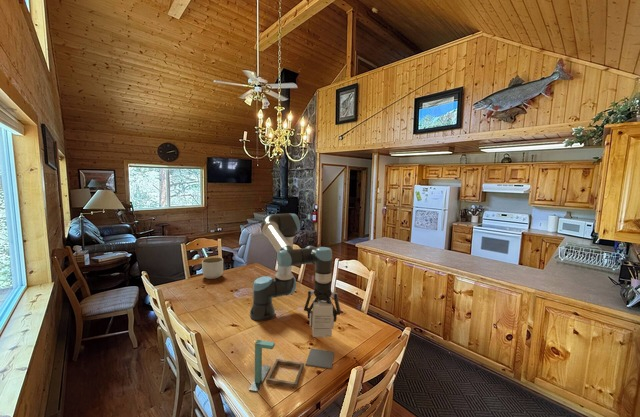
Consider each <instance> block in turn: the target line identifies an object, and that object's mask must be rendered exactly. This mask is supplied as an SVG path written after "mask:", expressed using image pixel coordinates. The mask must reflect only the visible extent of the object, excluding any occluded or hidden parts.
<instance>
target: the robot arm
mask: <svg viewBox="0 0 640 417" xmlns="http://www.w3.org/2000/svg"><path fill="white" fill-rule="evenodd" d="M260 224H261V225H260V231H261V233H262V235H264V237H266V238H267V240H268V241H269V242H270V243H271V245H272V247H273V248H274V250H275V252H276V253H277V254H276V262H277V272H276V273H275V275H274V278H272V277H271V276H265V275H264V276H260V277H258V278H257V279H255V280H254V281H253V286H252V302H253V303H252V305H251V309H250V310H249V311H250V313H249V316H250V318H251V319H252V320H254V321H258V322H264V321H269V320H271V319H272V318H274V316H275V315H276V314H275V311H276V310H275V307H274V303H273V298H279V297H285V296H289V295H292V294H294V293H295V291H296V288H297V282H296V281H297V279H296V277H295V276H294V274H293V273H292V268H293V266H300V265H307V264H313V265H314V266H315V274H314V280H315V281H314V290H312V289H308V292H307V298H306V301H305V304H304V308H303V311H304V312H307V319H308V320H309V324H308V326H309V327H312V315H313V303H314V302H317V301H318V300H319V301H326V302H327V303H328V304H331V301H332V298H333V301H334V304H335V306H334V304H333V317H332V330H334V328H335V322H337V317H338V316H340V315H341V312H342V311H341V307H340V306H341V305H340V302H339V299H338V294H339V293H338V292H336V291H335V292H332V272H333V271H332V269H333V268H332V267H333V266H332V265H333V250H332V248H331V247H327V246H326V247H325V246H320V247H316V246H313V245H308V246H306V247H305V248H303V247H302V248H294V239H295V237H297V233H298V232H300V230H301V222H300V219H299V217H298V214H296V213H290V212H289V213H287V212H286V213H272V214H268V215H267V216H265V217H264V218H263V220H262V221H261V223H260ZM313 295H314V296H315V297H314V298H315V300H314V302H313V301H312V303H311V304H310V302H311V298H312V296H313ZM331 296H332V298H331ZM330 298H331V299H330ZM309 304H310V306H309Z"/></svg>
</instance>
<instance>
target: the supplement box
mask: <svg viewBox="0 0 640 417" xmlns="http://www.w3.org/2000/svg"><path fill="white" fill-rule="evenodd" d="M315 298H316V297H314V298H313V299H312V303H313V302H314V300H315ZM330 299H331V304H328V303H327V302H326V301H319V300H318V301H317V302H314V303H313V308H312V325H311V331H312V332H311V333H312V335H311V336H312V338H332V334H333V333H332V332H333V329H332V317H333V305H334V304H333V301H332V298H331V297H330Z"/></svg>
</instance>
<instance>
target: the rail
mask: <svg viewBox="0 0 640 417" xmlns="http://www.w3.org/2000/svg"><path fill="white" fill-rule="evenodd" d="M270 370H271V366H269V365H263V364H262V379H261V381H260V383H255V379H253V382H252V384H251V385H250V387H249V389H248V391H249V392H254V393H258V392H259V390H260V388H261V386H262V385H263V383H264V382H265V381H264V380H266V378H267V376H268V374H269V372H270Z"/></svg>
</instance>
